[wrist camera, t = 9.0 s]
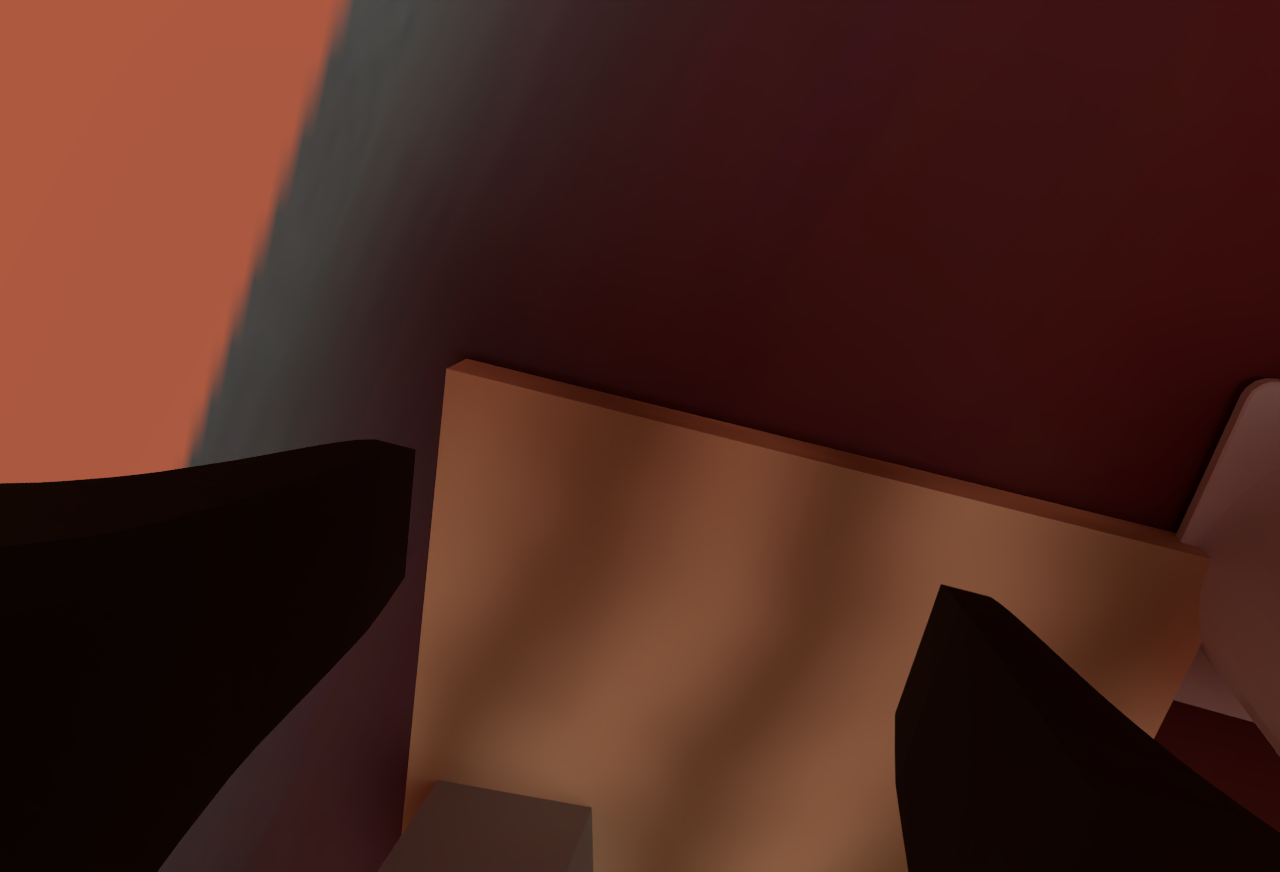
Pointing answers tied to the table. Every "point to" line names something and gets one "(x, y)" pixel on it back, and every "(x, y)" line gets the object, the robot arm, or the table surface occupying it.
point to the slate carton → (493, 834)
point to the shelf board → (733, 621)
